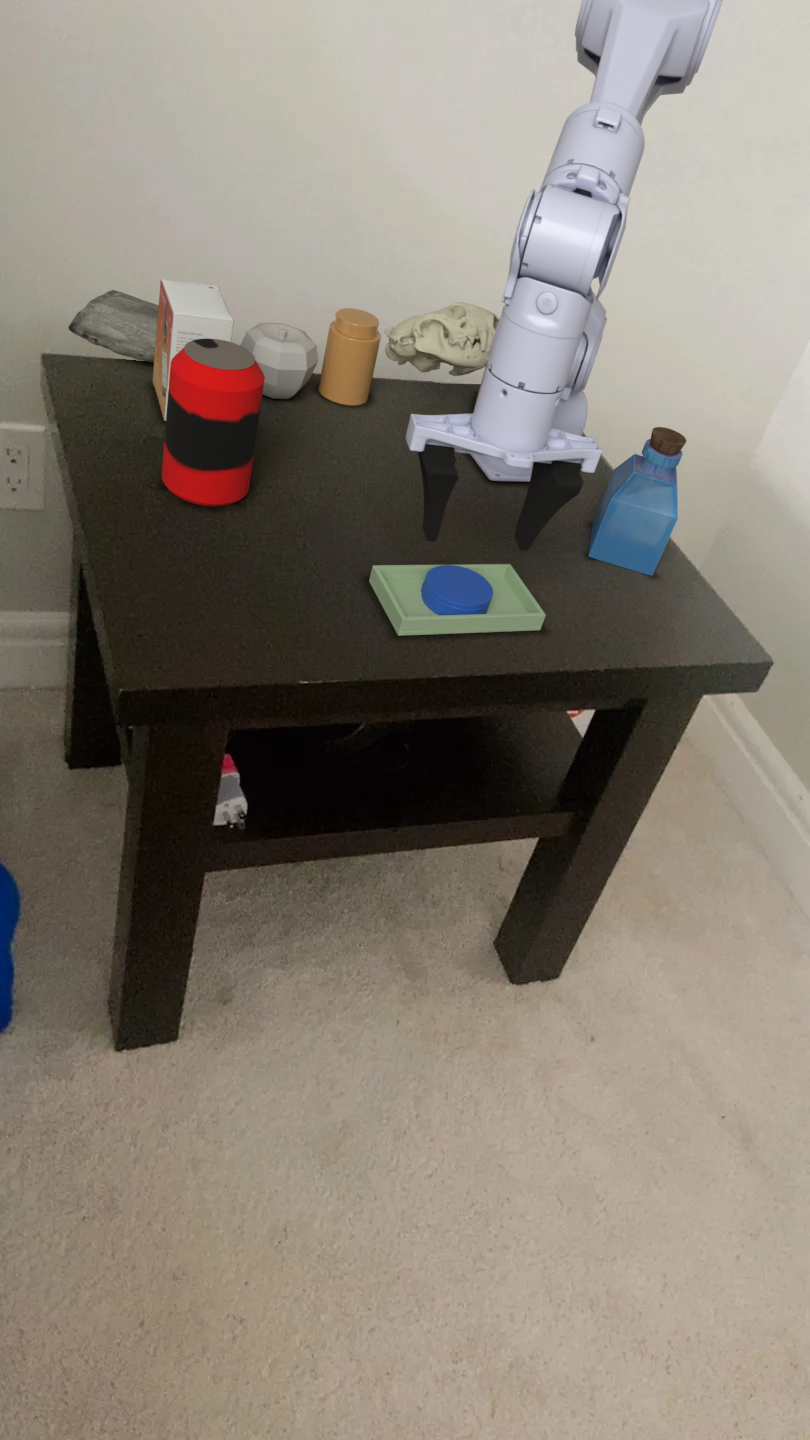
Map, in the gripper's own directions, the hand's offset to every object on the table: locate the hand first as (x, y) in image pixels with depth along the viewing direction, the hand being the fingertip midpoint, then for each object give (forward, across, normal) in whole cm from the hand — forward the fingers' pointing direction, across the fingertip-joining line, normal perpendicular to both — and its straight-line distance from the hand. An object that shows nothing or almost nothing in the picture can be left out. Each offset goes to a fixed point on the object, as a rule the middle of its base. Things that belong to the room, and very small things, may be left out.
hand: (475, 539), depth 82 cm
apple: (+7, -12, +35) cm, 38 cm away
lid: (+5, 0, 0) cm, 5 cm away
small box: (+7, -21, +30) cm, 38 cm away
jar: (+7, -4, +38) cm, 38 cm away
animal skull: (+5, +7, +41) cm, 41 cm away
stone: (+4, -17, +38) cm, 42 cm away
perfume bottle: (+7, +19, +11) cm, 23 cm away
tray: (+6, 0, 0) cm, 7 cm away
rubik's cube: (+7, +14, +39) cm, 42 cm away
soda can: (+7, -20, +15) cm, 26 cm away
